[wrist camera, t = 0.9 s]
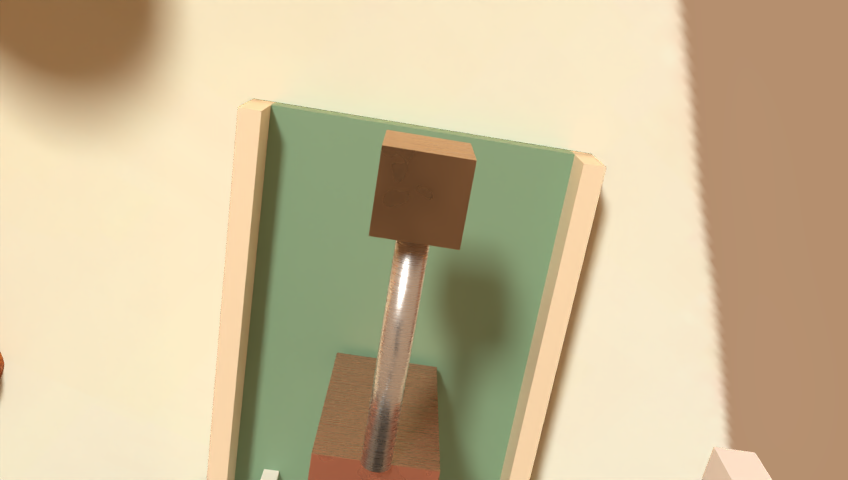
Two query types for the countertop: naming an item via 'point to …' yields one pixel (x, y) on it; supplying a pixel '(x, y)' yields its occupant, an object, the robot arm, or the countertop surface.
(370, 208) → the pitch
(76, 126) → the countertop surface
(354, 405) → the rod
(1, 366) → the slice of bread
